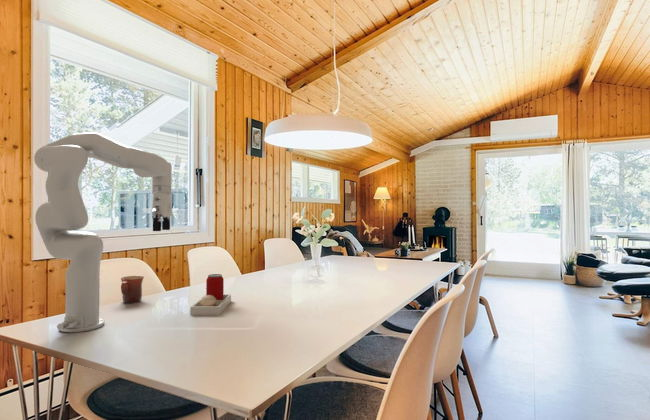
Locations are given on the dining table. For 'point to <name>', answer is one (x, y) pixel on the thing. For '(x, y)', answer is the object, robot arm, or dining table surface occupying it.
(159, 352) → the dining table surface
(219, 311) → the carton
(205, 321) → the dining table surface
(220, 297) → the beverage can
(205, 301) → the wooden egg
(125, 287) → the mug
